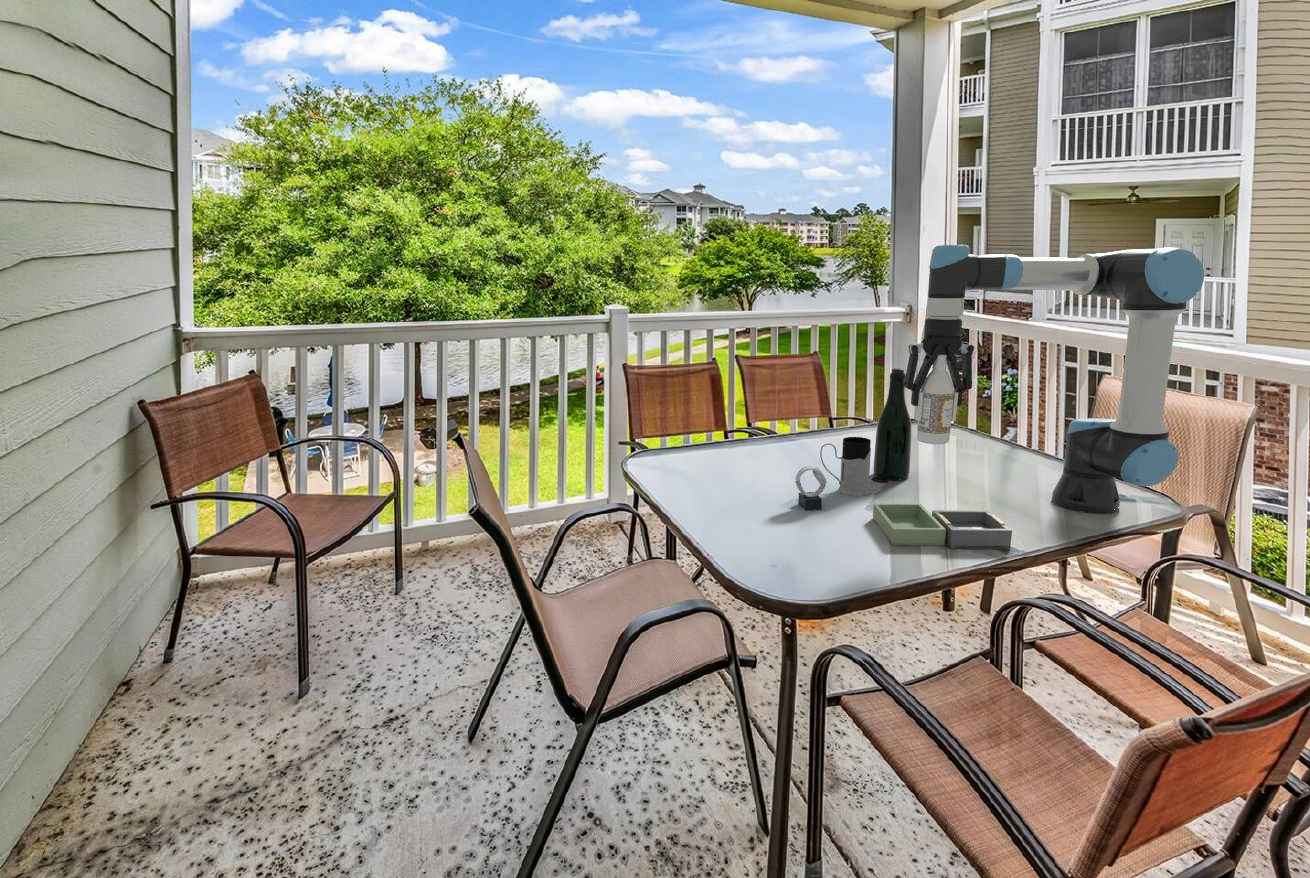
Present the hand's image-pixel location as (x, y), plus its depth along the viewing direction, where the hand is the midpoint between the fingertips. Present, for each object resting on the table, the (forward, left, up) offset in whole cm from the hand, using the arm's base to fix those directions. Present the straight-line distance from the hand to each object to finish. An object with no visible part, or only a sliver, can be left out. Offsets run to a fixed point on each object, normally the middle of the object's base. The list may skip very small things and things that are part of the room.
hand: (934, 419), depth 154 cm
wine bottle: (-5, -47, -28) cm, 55 cm away
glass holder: (+12, -33, -28) cm, 45 cm away
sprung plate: (-9, +3, -27) cm, 28 cm away
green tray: (+4, -1, -28) cm, 28 cm away
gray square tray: (-9, +3, -28) cm, 29 cm away
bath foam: (0, 0, -5) cm, 5 cm away
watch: (+24, -19, -28) cm, 42 cm away
